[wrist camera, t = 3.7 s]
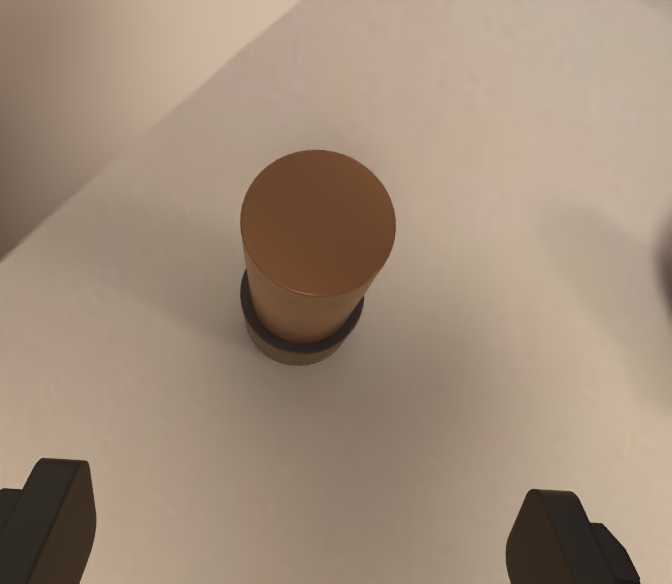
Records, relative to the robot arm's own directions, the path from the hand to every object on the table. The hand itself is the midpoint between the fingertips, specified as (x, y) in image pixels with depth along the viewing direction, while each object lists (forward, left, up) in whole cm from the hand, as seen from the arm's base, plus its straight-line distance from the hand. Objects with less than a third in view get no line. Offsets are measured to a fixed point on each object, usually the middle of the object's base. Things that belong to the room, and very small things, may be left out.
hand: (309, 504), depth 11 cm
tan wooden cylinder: (+5, +5, -15) cm, 16 cm away
